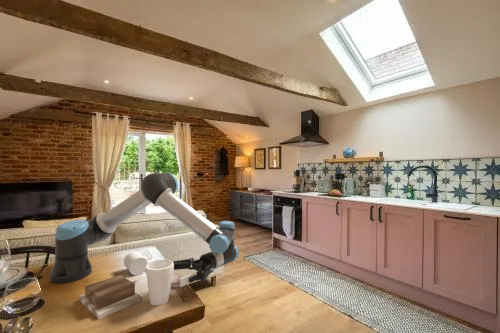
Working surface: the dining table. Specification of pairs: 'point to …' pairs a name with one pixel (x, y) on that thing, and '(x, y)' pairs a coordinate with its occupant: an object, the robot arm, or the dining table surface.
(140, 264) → the mug
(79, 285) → the dining table surface
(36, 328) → the dining table surface
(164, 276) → the foam cup
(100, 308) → the build base
